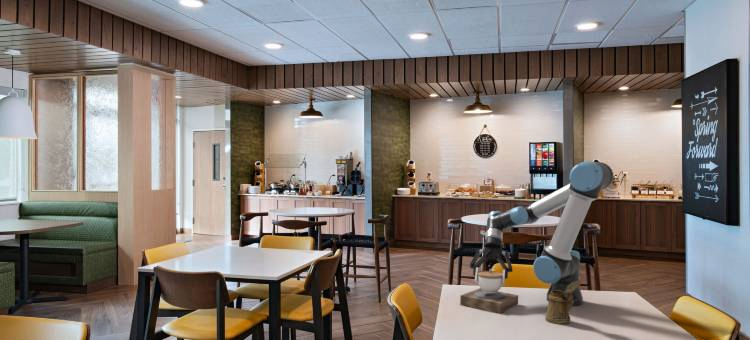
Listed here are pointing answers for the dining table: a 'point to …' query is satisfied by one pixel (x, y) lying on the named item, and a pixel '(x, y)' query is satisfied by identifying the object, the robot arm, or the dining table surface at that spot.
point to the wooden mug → (561, 304)
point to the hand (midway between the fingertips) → (489, 283)
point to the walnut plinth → (489, 300)
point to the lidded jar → (490, 281)
